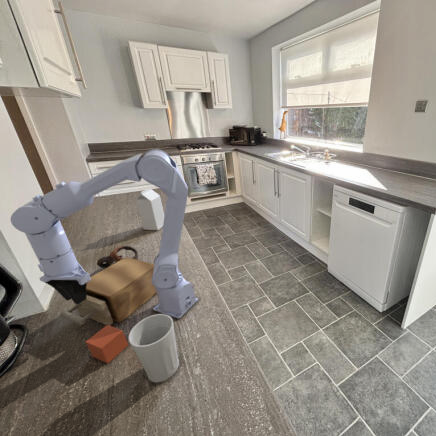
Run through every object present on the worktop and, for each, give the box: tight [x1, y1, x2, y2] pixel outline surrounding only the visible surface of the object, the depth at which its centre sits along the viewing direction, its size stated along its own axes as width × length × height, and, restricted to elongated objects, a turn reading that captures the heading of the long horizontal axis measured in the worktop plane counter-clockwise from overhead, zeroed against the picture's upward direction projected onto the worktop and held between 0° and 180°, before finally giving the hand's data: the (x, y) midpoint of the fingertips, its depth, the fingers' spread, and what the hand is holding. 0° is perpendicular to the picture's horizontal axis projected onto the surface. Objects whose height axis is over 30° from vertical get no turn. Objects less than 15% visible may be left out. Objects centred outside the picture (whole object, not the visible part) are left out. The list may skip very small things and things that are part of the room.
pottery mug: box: [96, 245, 139, 269], centre depth 85 cm, size 12×10×8 cm
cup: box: [128, 313, 180, 383], centre depth 51 cm, size 8×8×12 cm
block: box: [85, 324, 129, 364], centre depth 56 cm, size 5×5×5 cm
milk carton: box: [135, 186, 165, 231], centre depth 112 cm, size 7×7×19 cm
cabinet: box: [86, 256, 157, 323], centre depth 71 cm, size 15×13×9 cm
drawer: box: [60, 291, 116, 326], centre depth 66 cm, size 18×11×7 cm, turn 161°
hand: (76, 299), depth 59 cm, fingers open, 3 cm apart
